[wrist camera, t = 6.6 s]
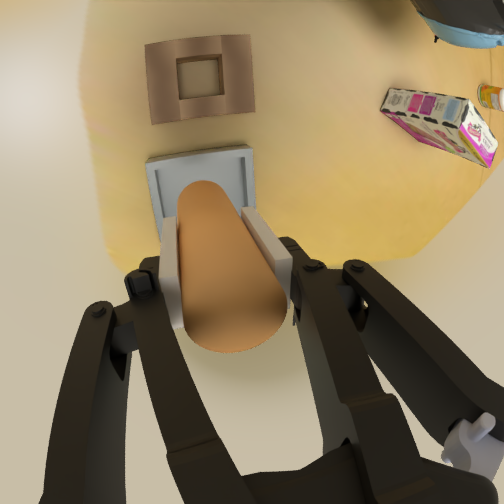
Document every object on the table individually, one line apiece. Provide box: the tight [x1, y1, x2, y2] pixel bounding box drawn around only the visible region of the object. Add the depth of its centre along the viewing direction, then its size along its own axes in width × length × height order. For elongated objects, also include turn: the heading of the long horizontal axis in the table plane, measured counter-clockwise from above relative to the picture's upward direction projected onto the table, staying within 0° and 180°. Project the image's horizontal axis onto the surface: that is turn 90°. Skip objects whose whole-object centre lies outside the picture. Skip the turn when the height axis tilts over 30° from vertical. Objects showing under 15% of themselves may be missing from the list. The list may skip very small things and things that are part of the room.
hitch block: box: [145, 35, 255, 125], centre depth 28 cm, size 12×10×4 cm
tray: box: [145, 145, 256, 242], centre depth 36 cm, size 13×13×4 cm
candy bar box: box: [380, 88, 498, 169], centre depth 31 cm, size 11×5×16 cm, turn 67°
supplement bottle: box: [478, 85, 504, 112], centre depth 34 cm, size 5×5×10 cm
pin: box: [177, 180, 288, 353], centre depth 16 cm, size 4×4×13 cm
